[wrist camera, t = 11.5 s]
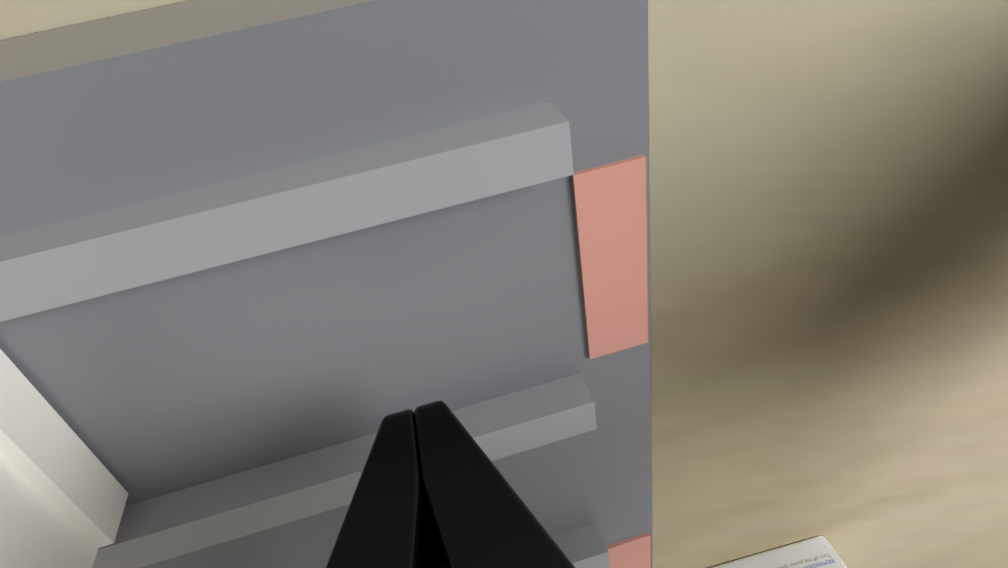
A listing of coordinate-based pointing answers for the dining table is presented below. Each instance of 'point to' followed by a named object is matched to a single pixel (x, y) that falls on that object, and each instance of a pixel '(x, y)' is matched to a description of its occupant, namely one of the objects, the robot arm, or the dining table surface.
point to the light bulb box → (792, 556)
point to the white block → (49, 484)
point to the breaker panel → (334, 259)
